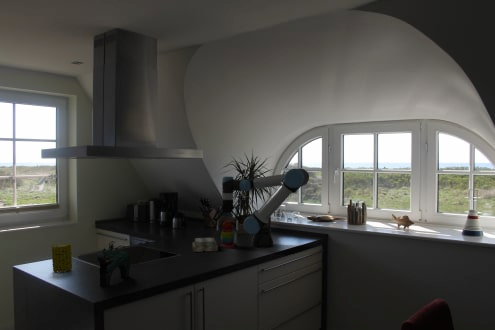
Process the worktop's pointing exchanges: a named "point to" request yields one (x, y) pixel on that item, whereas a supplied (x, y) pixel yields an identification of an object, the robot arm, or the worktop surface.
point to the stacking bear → (227, 235)
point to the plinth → (206, 248)
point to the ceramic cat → (113, 263)
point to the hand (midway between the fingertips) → (227, 230)
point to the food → (61, 258)
